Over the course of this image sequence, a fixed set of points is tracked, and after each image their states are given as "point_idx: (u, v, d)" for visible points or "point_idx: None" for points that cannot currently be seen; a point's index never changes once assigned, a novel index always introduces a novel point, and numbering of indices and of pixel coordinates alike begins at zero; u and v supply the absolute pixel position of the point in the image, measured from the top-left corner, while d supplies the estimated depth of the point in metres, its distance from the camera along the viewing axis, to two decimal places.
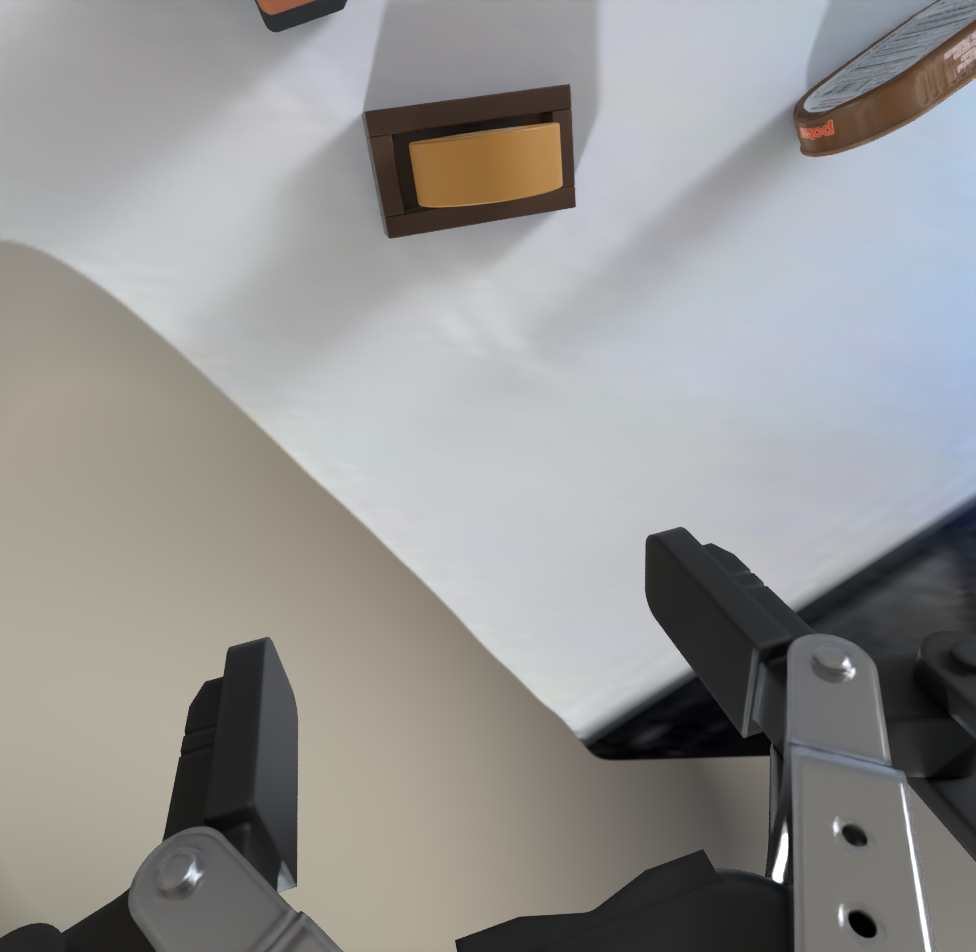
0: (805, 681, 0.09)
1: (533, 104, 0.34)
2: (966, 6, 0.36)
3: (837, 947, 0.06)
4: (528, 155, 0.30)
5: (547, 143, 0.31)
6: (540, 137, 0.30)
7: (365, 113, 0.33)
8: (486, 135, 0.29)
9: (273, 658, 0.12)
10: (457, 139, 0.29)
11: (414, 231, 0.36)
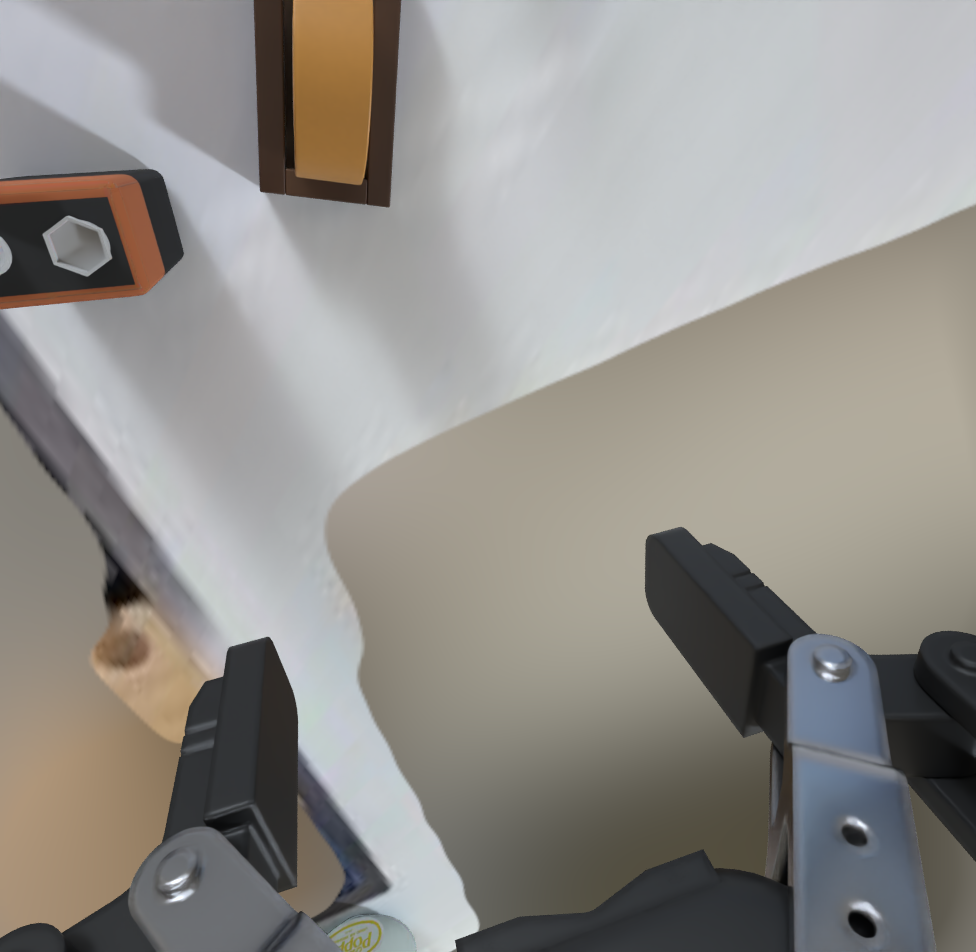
0: (805, 681, 0.09)
1: None
2: None
3: (837, 947, 0.06)
4: (324, 60, 0.24)
5: (314, 19, 0.23)
6: (306, 32, 0.23)
7: (261, 190, 0.30)
8: (295, 116, 0.25)
9: (273, 658, 0.12)
10: (295, 148, 0.26)
11: (388, 174, 0.31)
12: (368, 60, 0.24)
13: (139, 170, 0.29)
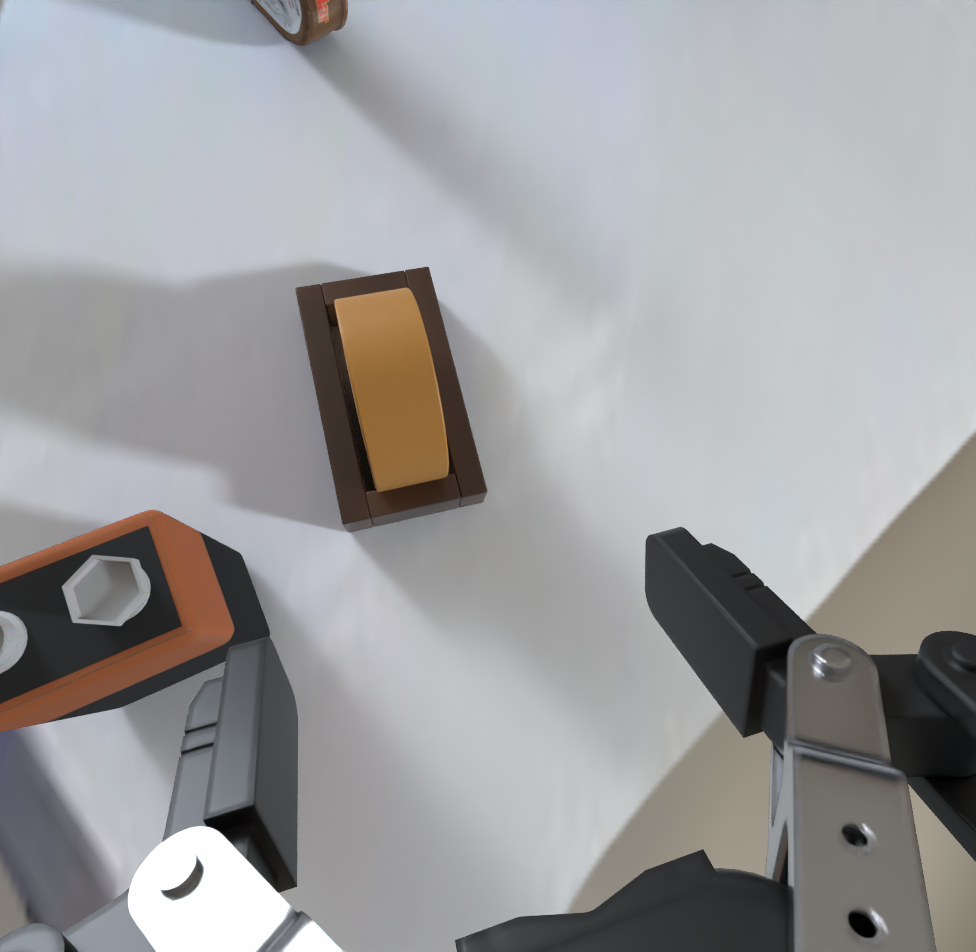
0: (805, 681, 0.09)
1: (319, 326, 0.28)
2: None
3: (837, 947, 0.06)
4: (376, 347, 0.22)
5: (360, 319, 0.22)
6: (353, 331, 0.22)
7: (344, 523, 0.26)
8: (358, 409, 0.22)
9: (273, 658, 0.12)
10: (366, 445, 0.22)
11: (475, 459, 0.27)
12: (420, 332, 0.22)
13: None
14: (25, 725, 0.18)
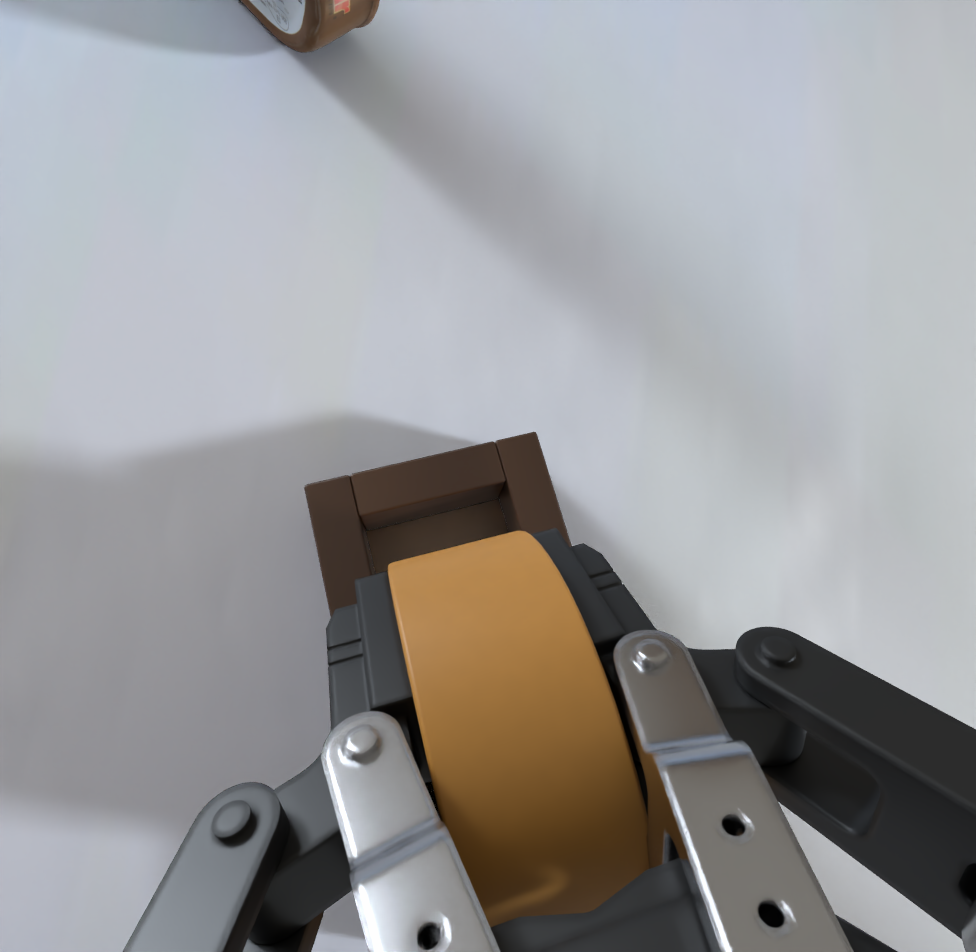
0: (637, 683, 0.09)
1: (349, 559, 0.16)
2: None
3: (761, 951, 0.06)
4: (509, 767, 0.09)
5: (462, 681, 0.10)
6: (451, 721, 0.09)
7: None
8: None
9: None
10: None
11: None
12: (608, 713, 0.09)
13: None
14: None
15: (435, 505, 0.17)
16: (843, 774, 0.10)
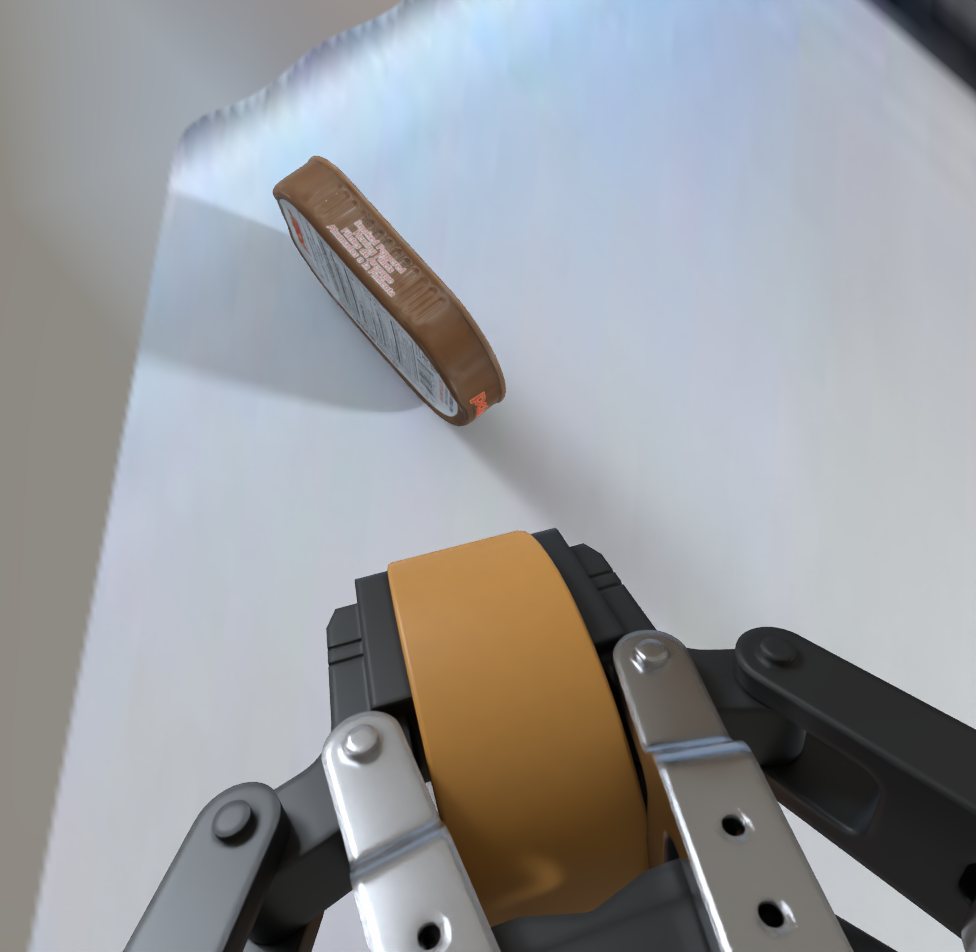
0: (637, 683, 0.09)
1: None
2: (328, 263, 0.30)
3: (761, 951, 0.06)
4: (509, 767, 0.09)
5: (462, 681, 0.10)
6: (450, 722, 0.09)
7: None
8: None
9: None
10: None
11: None
12: (608, 713, 0.09)
13: None
14: None
15: None
16: (843, 774, 0.10)
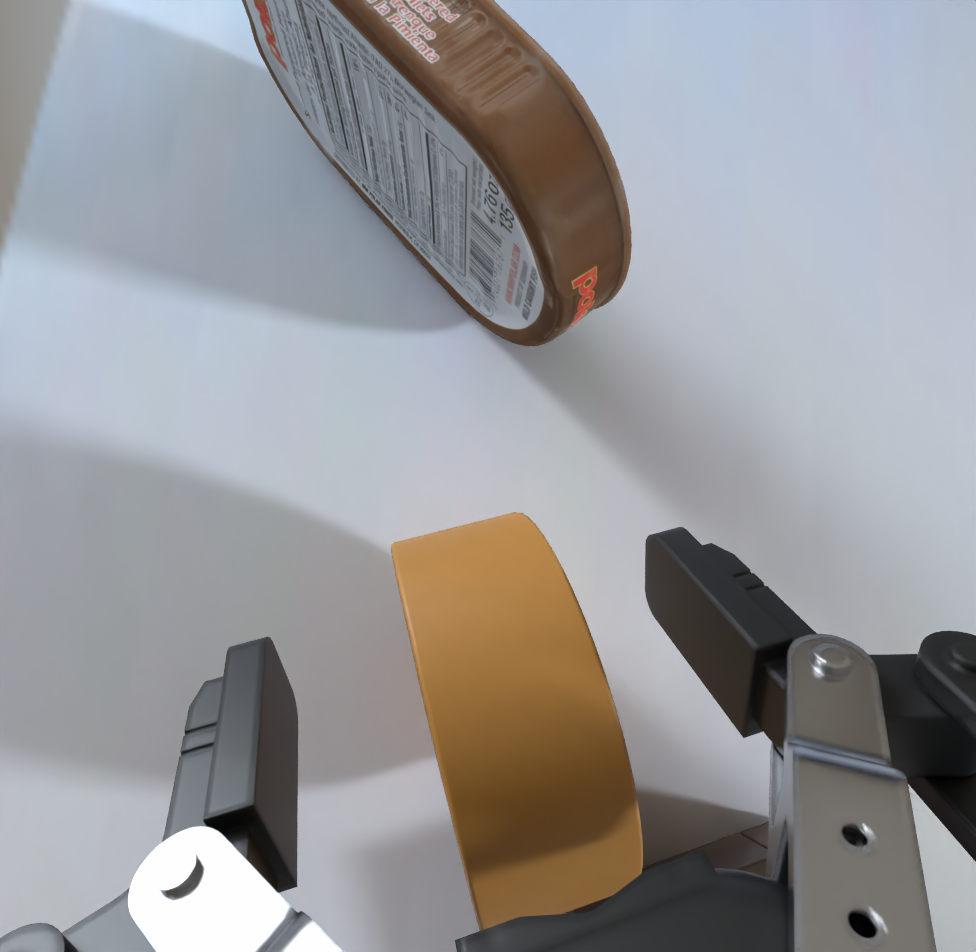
0: (805, 681, 0.09)
1: None
2: (314, 62, 0.18)
3: (837, 947, 0.06)
4: (497, 698, 0.10)
5: (454, 624, 0.11)
6: (444, 658, 0.10)
7: None
8: (462, 849, 0.10)
9: (273, 658, 0.12)
10: (478, 911, 0.10)
11: None
12: (587, 651, 0.10)
13: None
14: None
15: None
16: None
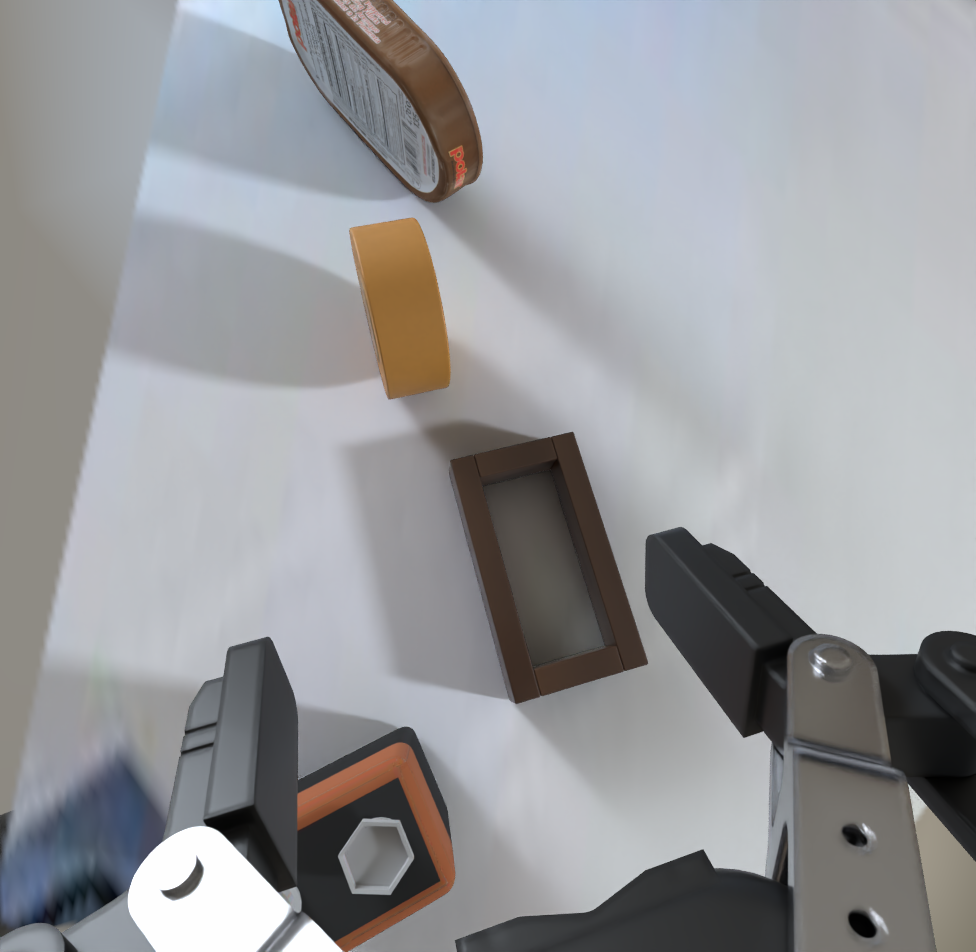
0: (805, 681, 0.09)
1: (476, 499, 0.29)
2: (322, 45, 0.33)
3: (837, 947, 0.06)
4: (377, 229, 0.27)
5: (366, 225, 0.28)
6: (360, 227, 0.27)
7: (516, 702, 0.27)
8: (360, 264, 0.26)
9: (273, 658, 0.12)
10: (368, 296, 0.26)
11: (634, 631, 0.28)
12: (414, 221, 0.27)
13: (395, 733, 0.26)
14: None
15: (517, 472, 0.31)
16: None
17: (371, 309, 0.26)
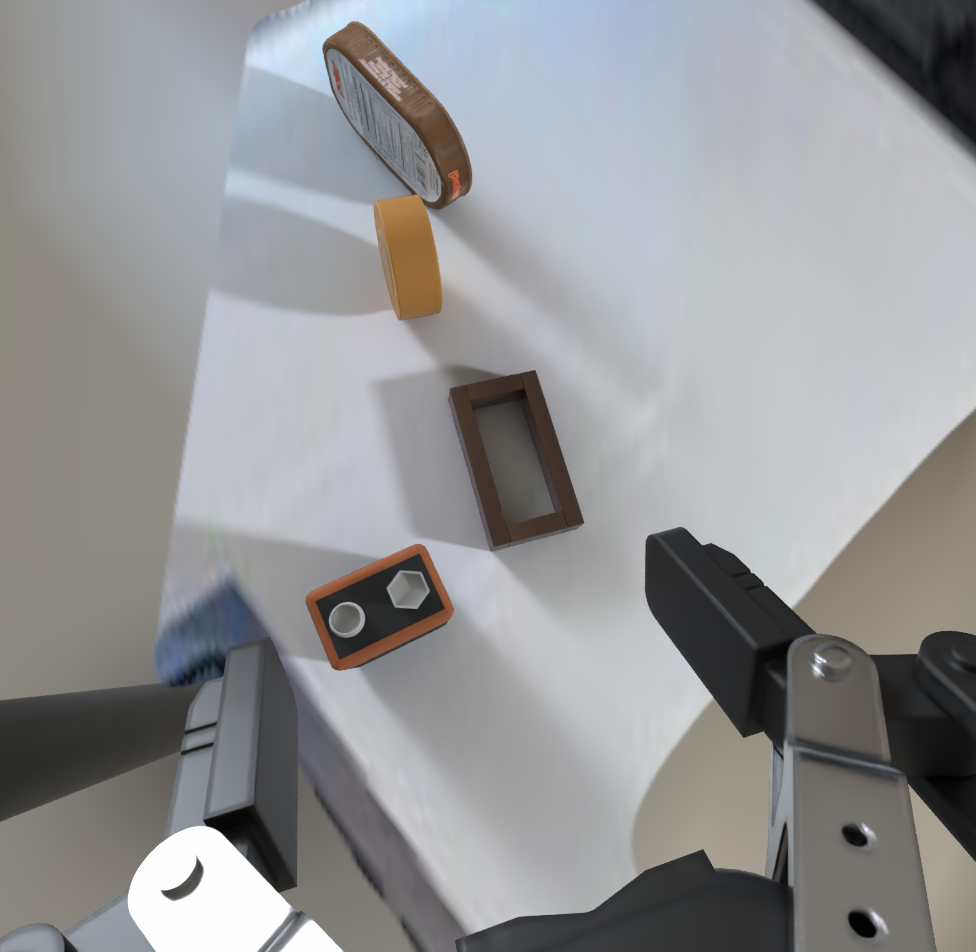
0: (805, 681, 0.09)
1: (467, 414, 0.43)
2: (357, 97, 0.46)
3: (837, 947, 0.06)
4: None
5: None
6: None
7: (494, 546, 0.40)
8: (376, 204, 0.40)
9: (273, 658, 0.12)
10: (380, 215, 0.40)
11: (575, 502, 0.42)
12: None
13: None
14: (351, 667, 0.33)
15: (496, 398, 0.44)
16: None
17: (382, 221, 0.39)
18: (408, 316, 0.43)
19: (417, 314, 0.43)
